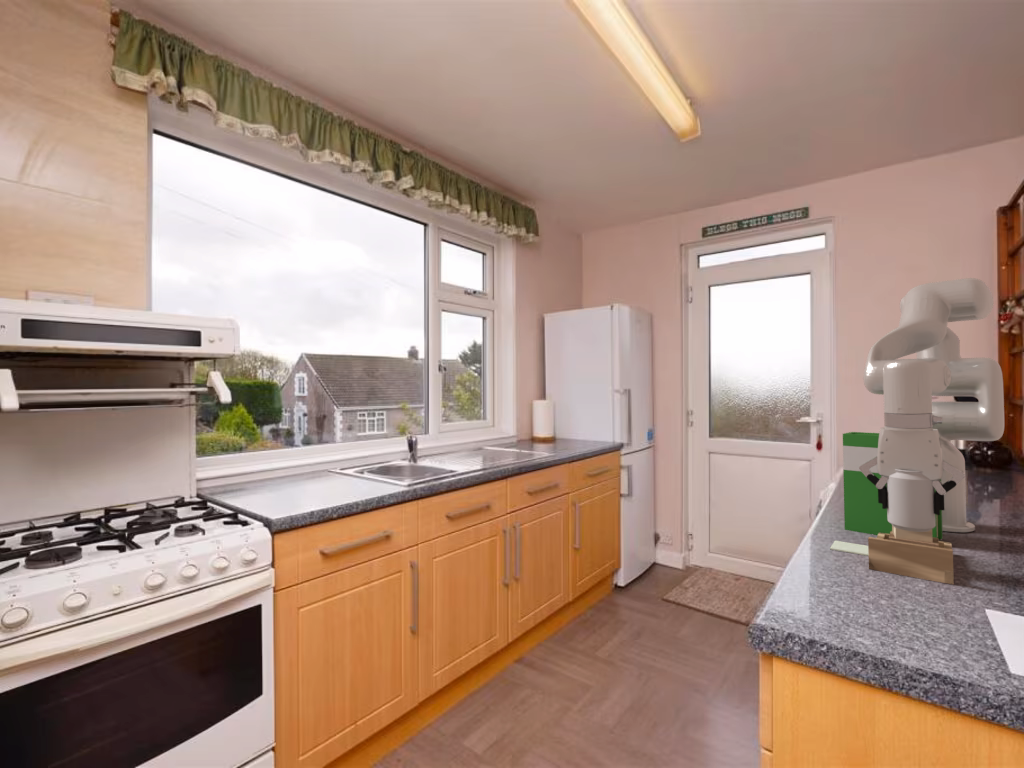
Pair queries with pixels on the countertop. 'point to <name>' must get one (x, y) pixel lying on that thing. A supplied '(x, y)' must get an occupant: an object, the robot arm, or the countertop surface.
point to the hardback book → (866, 488)
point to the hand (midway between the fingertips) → (910, 509)
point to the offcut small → (912, 535)
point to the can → (910, 501)
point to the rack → (911, 559)
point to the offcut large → (934, 544)
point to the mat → (850, 548)
